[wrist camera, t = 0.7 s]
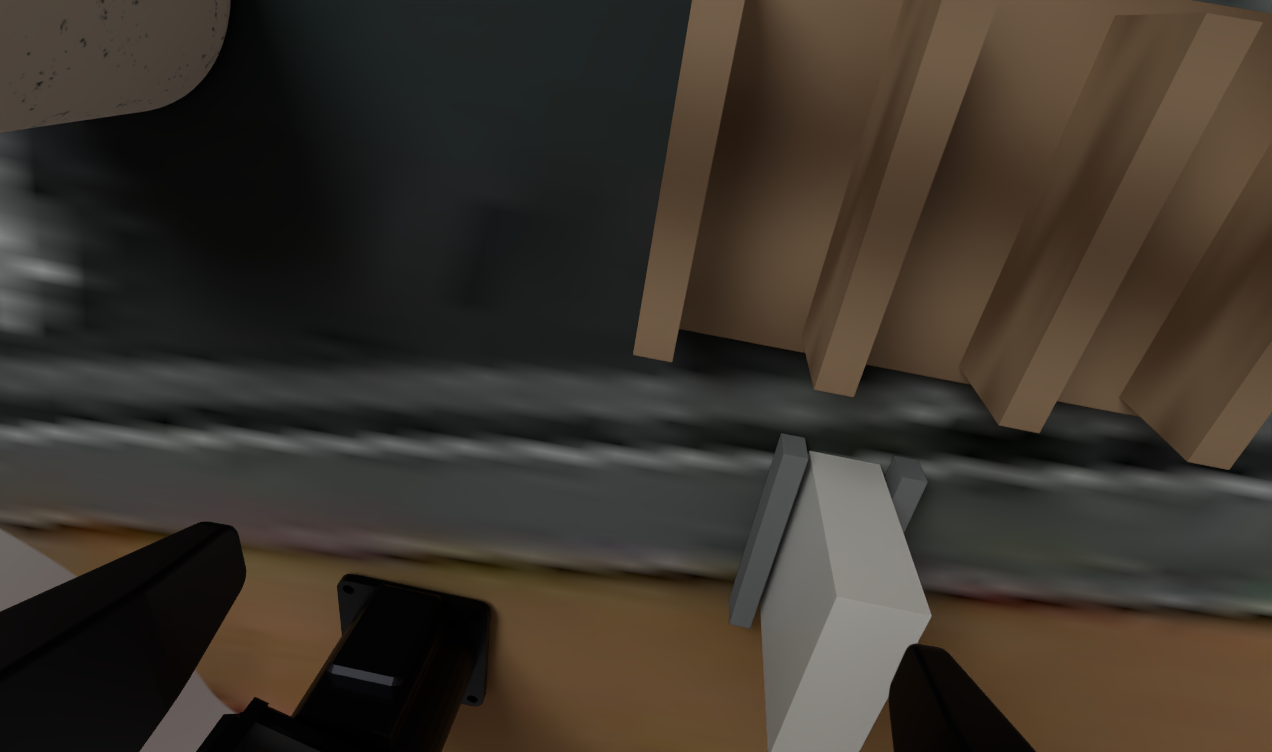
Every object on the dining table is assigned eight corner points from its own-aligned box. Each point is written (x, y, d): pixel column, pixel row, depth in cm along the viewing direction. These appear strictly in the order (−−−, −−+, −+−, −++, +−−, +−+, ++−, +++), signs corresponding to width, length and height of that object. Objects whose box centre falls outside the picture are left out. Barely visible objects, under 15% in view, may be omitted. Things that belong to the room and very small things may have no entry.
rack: (1130, 401, 20) (1221, 486, 16) (644, 309, 20) (626, 370, 17) (1354, 33, 15) (1558, 35, 11) (710, -75, 16) (704, -105, 12)
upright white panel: (820, 607, 25) (846, 774, 20) (759, 595, 26) (768, 757, 20) (879, 464, 22) (931, 616, 16) (809, 450, 22) (836, 596, 16)
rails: (844, 623, 26) (850, 649, 25) (729, 599, 26) (729, 624, 25) (918, 459, 22) (927, 482, 21) (781, 433, 22) (783, 453, 21)
